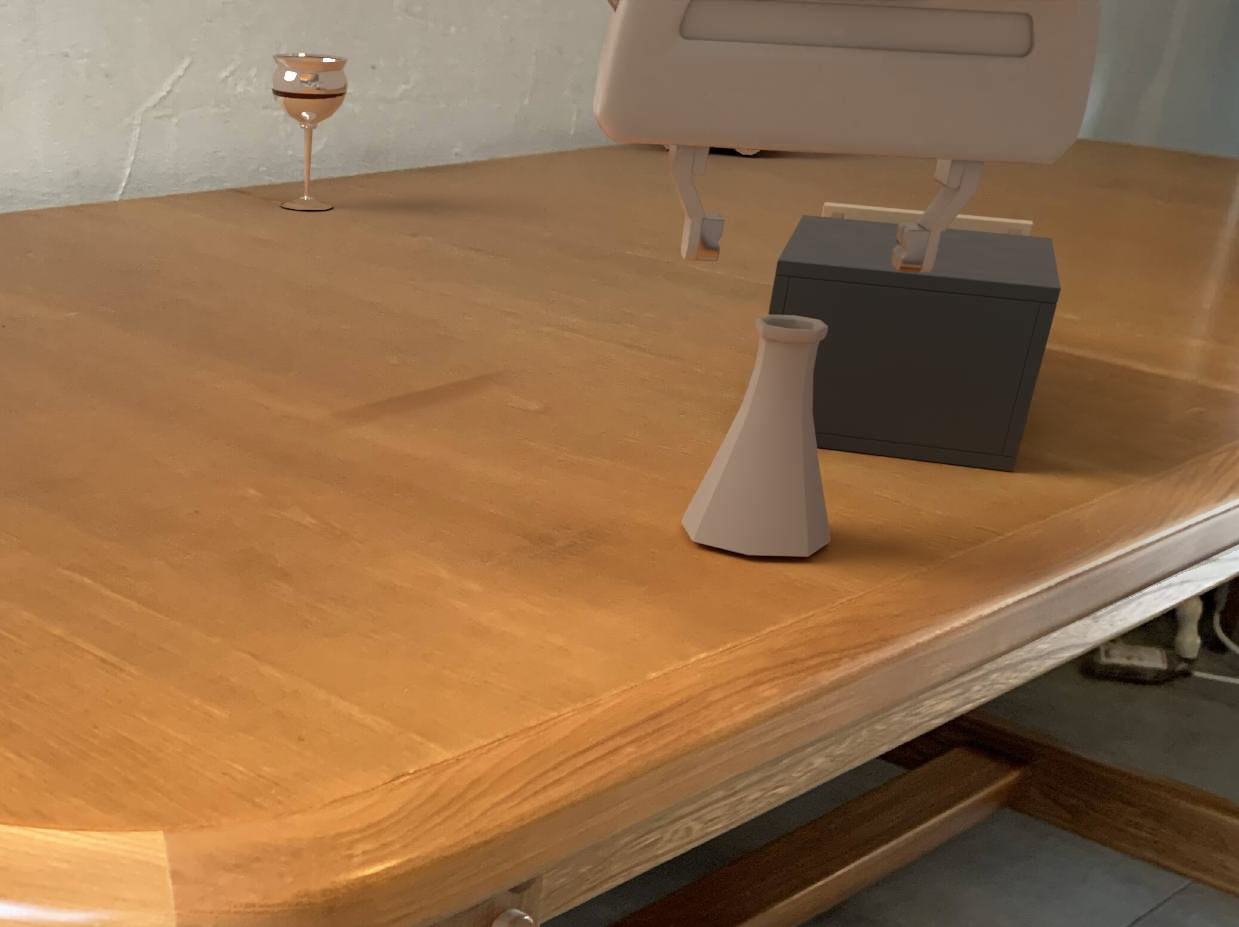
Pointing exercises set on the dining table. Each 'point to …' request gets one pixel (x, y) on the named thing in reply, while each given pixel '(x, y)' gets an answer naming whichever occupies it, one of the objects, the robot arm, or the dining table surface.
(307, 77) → the wineglass
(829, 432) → the cabinet
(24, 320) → the dining table surface
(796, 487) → the flask
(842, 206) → the drawer
